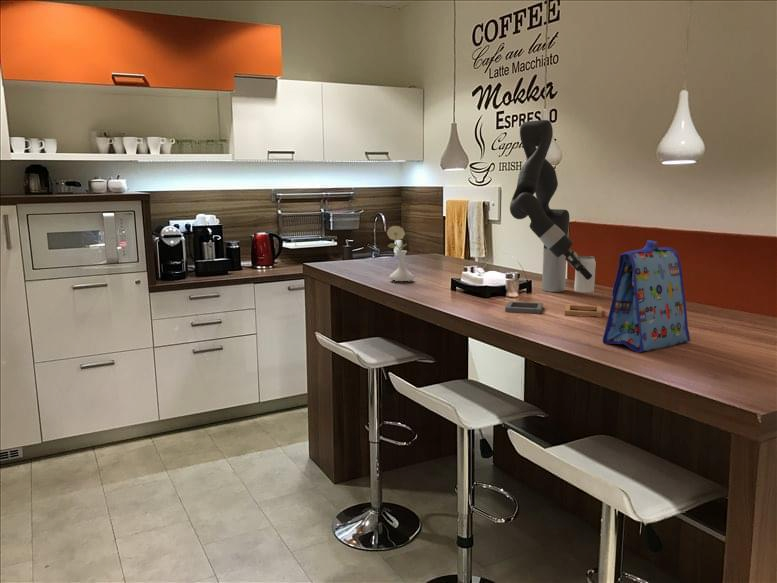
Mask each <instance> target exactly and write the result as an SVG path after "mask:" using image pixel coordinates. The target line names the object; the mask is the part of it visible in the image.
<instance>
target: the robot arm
mask: <svg viewBox="0 0 777 583" xmlns="http://www.w3.org/2000/svg"><path fill="white" fill-rule="evenodd" d="M553 130H554V129H553V125H552V122H551V121H550V120H548V119H539V120H530V121H529V120H528V121H524V122H522V123H521V124H520V127H519V137H520V142H521V144H522V148H523V151H524V154H525V157H526V161H525V162H524V163H523V165H522V166H521V169H520V171H519V174H518V179H517V183H516V188H515V190H514V193H513V196H512V198H511V201H510V204H509V211H510V214H511V216H512V217H513V218H514V219H516V220H524V219H526V218H527V217H528V218H529V219H530V223H529V229H530V230H531V231H532V233H534V235H536V236H537V237H538V238H539V240H540V241H541V242H542V244H543V252H542V254H543V257H542V258H543V259H542V278H541V282H542V283H541V290H542V291H544V292H551V293H552V292H553V293H560V292H561V291H562V292H565V290H566V276H567V275H566V274H567V273H566V272H567V263H569V265H570V266H571V267H572V268H573V269H576V271H578V272H580V271H581V272H580V273H581V274H582V275H583V276H584V277H585V278H586V279H587V280H589V279H590V278H591V277H592V274H591V273H590V272H589V271H588V270H587V269H586V268H585V266H584V265H582V263H581V260H580V259H579V258H578V256H579V255H578V253H577V252H576V251H575V250H572V249H570V248H572V246H573V245H574V241H573V240H572V239H570V237H569V230H570V229H569V228H570V213H569V211H568V210H567V209H559V208H553V209H552V208H550V201H551V199H552V198H553V196H554V195H555V193H556V191H557V189H558V185H559V183H558V177H557V172H556V169H555V167H554V166H553V164H552V163H550V161H548V160H547V159H546V157H547V155H548V152H549V149H550V146H551V144H552V140H553V133H554V131H553ZM534 194H535V195H534ZM578 265H580V266H578ZM577 266H578V267H577Z"/></svg>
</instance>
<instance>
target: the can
mask: <svg viewBox="0 0 777 583" xmlns="http://www.w3.org/2000/svg"><path fill="white" fill-rule="evenodd" d="M578 258H579V259H580V260H581V263H582V265H584V266H585V268H586V269H587V270H588V271H589V272H590V273H591V274H592V277H591V278H590V279H589V280H587V279H586V278H585V277H584V276H583V275H582V274H581V273H580V272H581V271H580V272H578V271H576V269H575V268H574V269H575V270H574V271H575V273H574V288H573V290H574V292H576V293H579V294H592V293H593V294H594V292H595V282H596V281H595V280H596V266H597V265H596V263H597V261H596V259H595V256H591V255H590V256H589V255H587V256H586V255H578ZM578 266H580V265H578ZM578 266H577V267H578Z"/></svg>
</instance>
